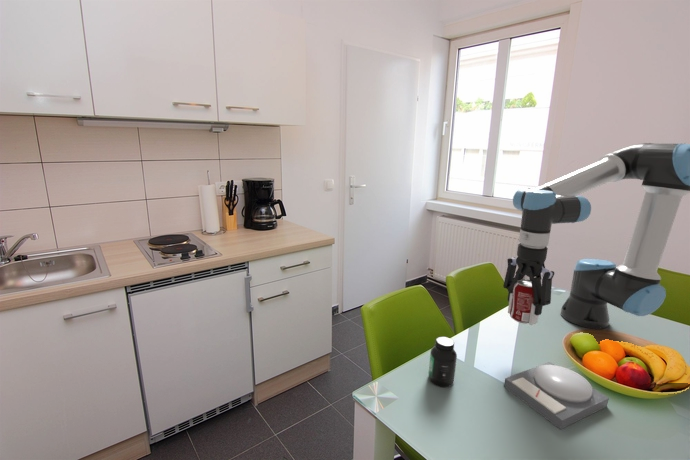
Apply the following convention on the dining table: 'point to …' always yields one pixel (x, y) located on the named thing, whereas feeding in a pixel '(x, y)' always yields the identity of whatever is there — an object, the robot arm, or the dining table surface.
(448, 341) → the supplement bottle
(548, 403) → the scale
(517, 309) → the soda can
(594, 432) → the dining table surface
